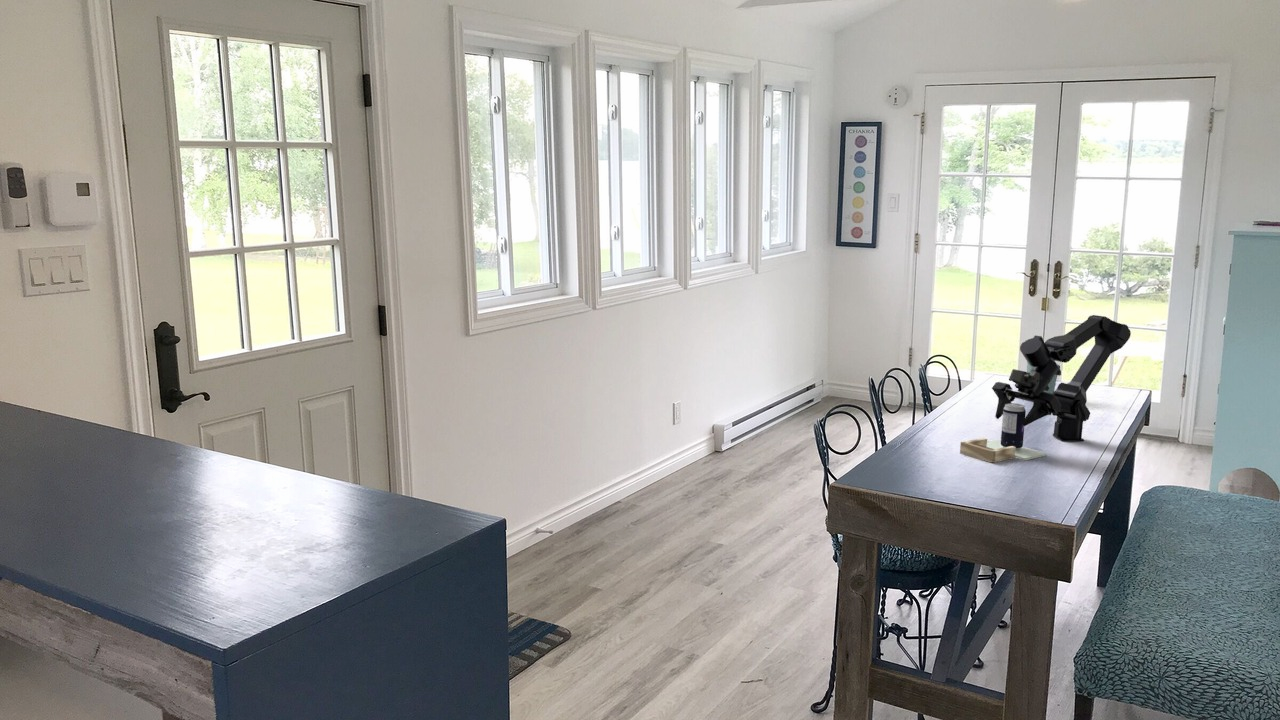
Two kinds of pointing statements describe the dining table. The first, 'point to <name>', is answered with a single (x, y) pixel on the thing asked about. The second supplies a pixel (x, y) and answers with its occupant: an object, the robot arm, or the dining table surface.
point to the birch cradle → (986, 450)
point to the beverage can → (1013, 425)
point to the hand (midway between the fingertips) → (1009, 421)
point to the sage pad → (1021, 453)
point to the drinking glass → (1051, 384)
